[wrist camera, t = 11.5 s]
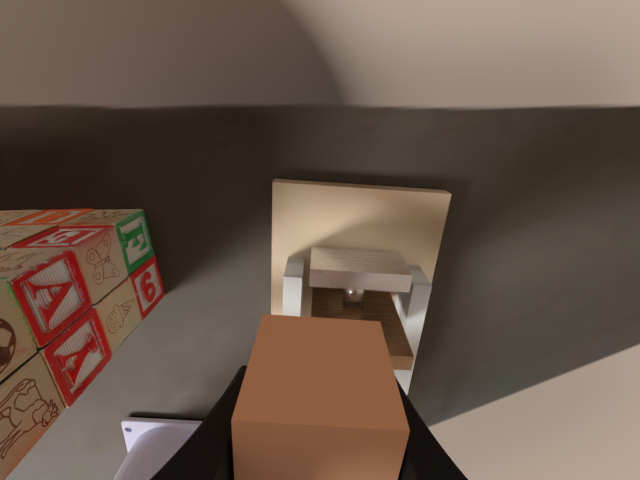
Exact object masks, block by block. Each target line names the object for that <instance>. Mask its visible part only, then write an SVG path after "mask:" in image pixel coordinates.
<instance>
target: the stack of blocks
mask: <svg viewBox="0 0 640 480" xmlns="http://www.w3.org/2000/svg"><path fill="white" fill-rule="evenodd" d="M164 294H165V293H164V289H163V285H162V281H161V277H160V273H159V269H158V265H157V261H156V257H155V255H154V252H153V248H152V243H151V239H150V235H149V231H148V227H147V223H146V219H145V214H144V210H143V209H118V210H94V209H57V210H8V211H0V480H4V479H5V478H6V477H7V476H8V475H9V474H10V473H11V472H12V470H13V469H14V468H15V467H16V466H17V465H18V464H19V462H20V461H21V460H22V459H23V458H24V456H25V455H26V454H27V453H28V452H29V451H30V449H31V448H32V447H33V446H34V445H35V443H36V442H37V441H38V440H39V439H40V438H41V436H42V435H43V434H44V433H45V432H46V431H47V429H48V428H49V427H50V426H51V425H52V423H53V422H54V421H55V420H56V419H57V418H58V416H59V415H60V414H61V412H62V411H63V409H64V408H68V407H70V406H71V405H72V404H73V403H74V402H75V401H76V399H77V398H78V397H79V396H80V395H81V394H82V393H83V392H84V390H85V389H86V388H87V386H88V385H89V384H90V383H91V382H92V381H93V380H94V379H95V377H96V376H97V375H98V374H99V373H100V372H101V371H102V369H103V368H104V366H105V365H106V364H107V363H108V362H109V360H110V359H111V357H112V355H113V354H114V353H115V352H116V351H117V349H118V348H119V347H120V346H121V344H122V343H123V342H124V341H125V340H126V338H127V337H128V336H129V335H130V334H131V333H132V332H133V330H134V329H135V328H136V327H137V326H138V324H139V323H140V322H141V321H142V320H143V319H144V318H145V317H146V316H147V315H148V314H149V313H150V311H151V310H152V309H153V308H154V307H155V305H156V304H157V303H158V302H159V301H160V300H161V299H162V298H163V296H164Z"/></svg>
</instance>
